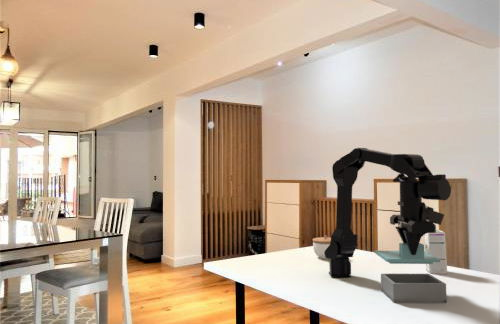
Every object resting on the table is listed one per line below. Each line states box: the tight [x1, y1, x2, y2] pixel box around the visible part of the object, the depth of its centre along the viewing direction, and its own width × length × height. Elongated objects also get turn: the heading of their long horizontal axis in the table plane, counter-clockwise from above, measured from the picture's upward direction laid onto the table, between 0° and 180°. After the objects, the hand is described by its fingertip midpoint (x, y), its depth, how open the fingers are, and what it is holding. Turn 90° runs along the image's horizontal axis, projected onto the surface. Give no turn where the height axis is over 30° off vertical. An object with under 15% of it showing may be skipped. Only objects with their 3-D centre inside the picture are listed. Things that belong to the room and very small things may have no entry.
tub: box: [380, 273, 448, 304], centre depth 108 cm, size 14×11×5 cm
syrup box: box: [424, 229, 448, 275], centre depth 135 cm, size 6×6×14 cm
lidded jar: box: [312, 234, 331, 260], centre depth 162 cm, size 11×11×9 cm
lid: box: [374, 242, 440, 265], centre depth 112 cm, size 15×12×6 cm
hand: (411, 253), depth 107 cm, fingers closed on lid, 2 cm apart
